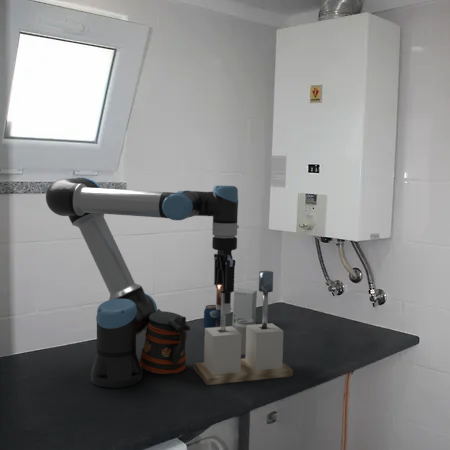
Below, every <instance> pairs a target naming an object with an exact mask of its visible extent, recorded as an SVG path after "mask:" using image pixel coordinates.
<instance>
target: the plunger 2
mask: <svg viewBox="0 0 450 450" xmlns="http://www.w3.org/2000/svg"><path fill="white" fill-rule="evenodd" d="M258 273H259V275H258V292H261V293H262V314H261V315H262V316H261V317H262V319H261V320H262V321H261V324H262V329H267V324H268V312H269V307H268V306H269V293H272V292H273V291H274V271H272V270H261V271H259V272H258Z"/></svg>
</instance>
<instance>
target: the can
mask: <svg viewBox="0 0 450 450" xmlns="http://www.w3.org/2000/svg"><path fill="white" fill-rule="evenodd" d="M255 324H256V323H255ZM255 324H254V322H253V319H250V318H238V319H236V322H235V323H234V328H235V329H236V330H237V331H238V332H240V333H241V357H246V325H255Z"/></svg>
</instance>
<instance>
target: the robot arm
mask: <svg viewBox="0 0 450 450" xmlns="http://www.w3.org/2000/svg"><path fill="white" fill-rule="evenodd" d="M238 193H239V192H238V188H237V186H235V185H214V186H213V188H212V191H198V190H179V191H177V192H170V191H169V192H167V191H153V190H151V191H149V190H138V189H137V190H135V189H133V190H132V189H119V188H117V189H116V188H103V187H101V185H100V184H99V183H98V182H97V181H95V180H94V179H90V178H87V177H76V178H75V177H74V178H60V179H57V180H56V181H53V182H52V183H51V184H50V185H49V186H48V188H47V190H46V193H45V202H46V204H47V207H48V208H49V209H50V211H51V212H52V213H54V214H56V215H58V216H61V217H68V218H69V221H70V223H71V225H72V226H74V227H77V228H78V229H79V230H80V233H81V235H82V237H83V239H84V241H85V244H86V245H87V247H88V250H89V251H90V252H89V253H90V254H91V256H92V258H93V260H94V263H95V265H96V267H97V270H98V271H99V274H100V276H101V278H102V280H103V282H104V284H105V286H106V288H107V290H108V292H109V295H110V296H109V299H108V300H106V301H104V302H102V303H100V304H99V305H98V307H97V309H96V319H95V321H96V356H95V360H94V362H93V366H92V368H91V372H90V381H91V383H92V384H93V385H95V386H98V387H102V388H108V389H109V388H111V389H118V388H119V389H120V388H126V387H130V386H134V385H136V384H138V383H140V381H141V380H142V378H143V377H142V376H143V374H142V373H143V372H142V367H141V366H140V363H139V362H140V360H139V359H138V355H137V337H138V336H139V335H140V334H141V333H142V332H146V330H147V327H148V322H149V321H150V319H149V316H150V315H151V314H153V313H155V312H157V310H158V306H157V302H155V300H154V298H153V297H152V296H151V295H149V294H147V293H146V292H145V291H144V288H143V286H142V285H141V284H137V283H136V282H135V280H134V279H133V276H132V274H131V271H130V269H129V268H128V266H127V263H126V261H125V260H124V256H123V255H122V253H121V251H120V249H119V246H118V245H117V242H116V240H115V237H114V236H113V234H112V232H111V230H110V228H109V225H108V223H107V220H106V219H105V215H116V216H131V217H133V216H134V217H143V218H144V217H146V218H147V217H148V218H160V219H161V218H162V219H168V220H171V221H183V220H185V219H189V218H193V217H198V216H199V217H212V233H211V234H212V235H213V236H212V241H211V242H212V243H211V245H212V250H215V251H216V252H217V253H214V254H213V260H214V266H213V267H214V269H213V270H214V273H213V274H214V275H213V276H214V277H213V278H214V279H213V284H214V286H215V288H216V289H217V284H219V283H223V291H221V293H222V305H217V304H216V303H215V305H216V310H221V314H226V315H227V314H231V311H232V310H231V307H232V305H231V303H232V293H234V291H235V269H236V260H235V259H234V257H233V254H232V251H236V250H237V248H238V238H237V237H236V236H237V235H238V229H239V227H240V226H239V224H238V217H239V215H238V210H239V209H238V208H239V194H238Z"/></svg>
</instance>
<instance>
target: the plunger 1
mask: <svg viewBox="0 0 450 450" xmlns="http://www.w3.org/2000/svg"><path fill="white" fill-rule="evenodd" d="M221 291H223V283H219V284H217V288H216V298H215V299H216V300H215V301H216V303H215V305H216V304H217V305H222V293H221ZM226 317H227V314H221V319H220V333H223V332H225V327H227V326H226V321H227V320H226Z"/></svg>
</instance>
